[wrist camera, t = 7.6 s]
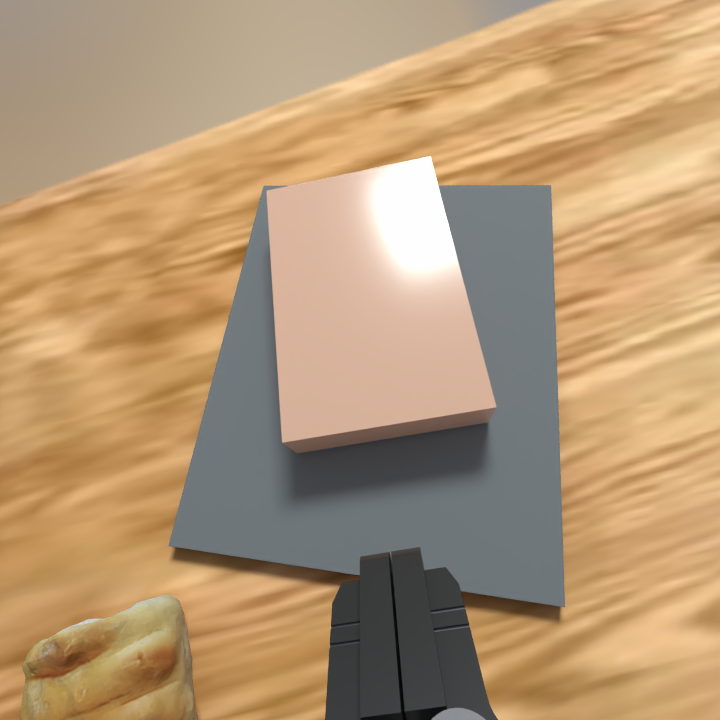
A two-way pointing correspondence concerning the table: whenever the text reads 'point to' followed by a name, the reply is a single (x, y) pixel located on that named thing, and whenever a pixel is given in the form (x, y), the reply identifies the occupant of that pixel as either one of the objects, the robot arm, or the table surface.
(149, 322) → the table surface
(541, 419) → the mat
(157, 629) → the pastry
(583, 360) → the table surface
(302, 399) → the tile
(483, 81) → the table surface
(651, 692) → the table surface
